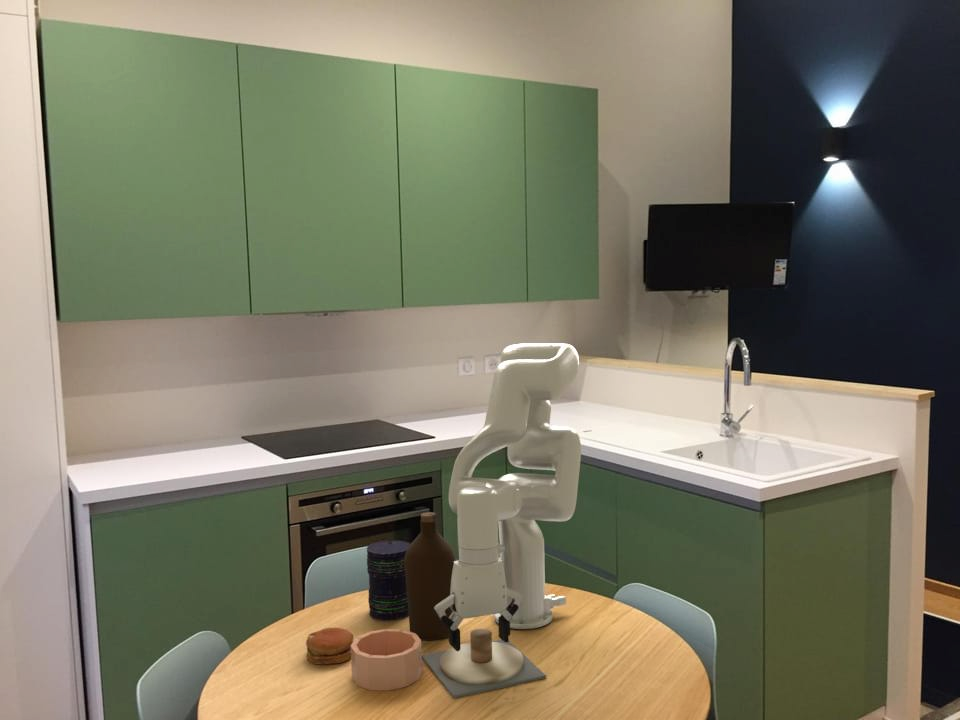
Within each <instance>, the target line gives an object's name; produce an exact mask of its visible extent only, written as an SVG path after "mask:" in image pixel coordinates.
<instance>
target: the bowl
mask: <svg viewBox="0 0 960 720" xmlns="http://www.w3.org/2000/svg"><path fill="white" fill-rule="evenodd" d="M422 655H423V654H422V639H420V638H419V637H418V636H417V634H415V633H412V632H410V630H405V629H402V628H401V629H399V628H398V629H395V628H385V629H380V630H379V629H377V630H373V631H368V632H366V633H364V634H361V635H360V636H358V637H357V636H356V637H355V639H353V643H352V644H351V659H350V662H351V663H350V664H351V678H352V680H353V682H354V683H355V685H356V686H358V687H360V688H361V687H362V688H364V689H366V690H369V691H387V692H388V691H392V690H397V689H402V688H406V687H408V686H410V685H412V684H414V683H415V682H417V681H418V680H419V679H420V677H421V676H422V673H423V659H422Z"/></svg>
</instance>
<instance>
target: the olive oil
mask: <svg viewBox="0 0 960 720" xmlns="http://www.w3.org/2000/svg"><path fill="white" fill-rule="evenodd" d="M419 522H420V533H419V534H417V536H416V538H415V539H414V540H413V541H412V542H411V543H409V544H410V546H409V547H408V549H407V551H406V554H405V559H404V565H405V576H406V587H407V599H408V612H409V616H408V624H409V625H408V626H409V627H408V629H409V632H412V633H415V634H417V636H418V637H419V638H420V639H421V641H422V640H423V641H437V640H441V639H442V640H443V639H446V638H449V627H448V626H447V625H446V624H445V623H444V622H442V620H441V619H440V618H439V616H438V614H437V613H436V611H435V609H434V607H435V606H436V605H437V604H438V603H440V602H441V601H443V600H444V599H446V598H447V597H448V596H450V587H451V577H452V570H453V564H454V561H457V559H456V556H455V555H456V554H455V551H454V548H453V547H452V545H451V544H450V542H448V541H447V540H446V539H445V538H444V537H443V536H442V535H441V534H440V533H439V532H438V521H437V514H436V512H431V511H429V512H428V511H427V512H423V513H421V514H420V521H419ZM452 612H453V611H452V610H451V608H450V607H448V608H447V609H446V610H445V614H446V616H447V617H450V615H451V614H452Z"/></svg>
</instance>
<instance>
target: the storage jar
mask: <svg viewBox="0 0 960 720" xmlns="http://www.w3.org/2000/svg"><path fill="white" fill-rule="evenodd" d="M410 544H411V543H409V542H407V541H404V540H398V539H393V540H392V539H390V540H389V539H388V540H380V541H376V542H373V543H371V544H369V545H367V547H366V553H367V554H366V558H367V559H366V565H367V568H366V571H367V574H368V582H369V585H368V587H369V588H368V598H367V599H368V607H369V617H371V619H374V620H376V621H381V620H382V621H381V622H391V620H394V621H400V620H403V619H406V618H409V612H408V599H407V587H406V576H405V565H404V559H405V554H406V551H407V549H408V547H409V546H410ZM405 617H406V618H405ZM402 618H403V619H402ZM399 619H400V620H399Z"/></svg>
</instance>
